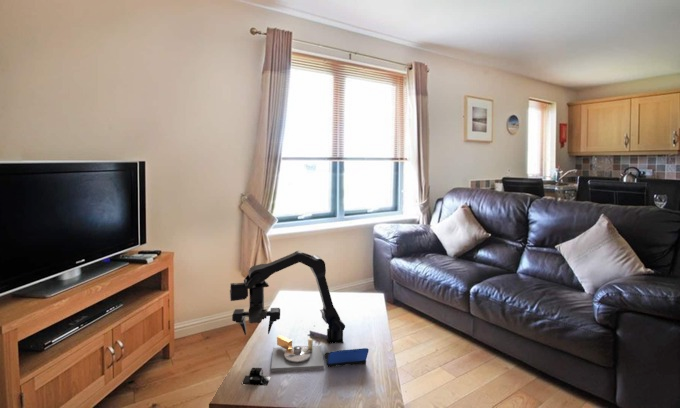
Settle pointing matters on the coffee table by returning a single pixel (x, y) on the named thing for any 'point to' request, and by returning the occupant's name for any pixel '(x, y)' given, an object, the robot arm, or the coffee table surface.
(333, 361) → the handheld game console
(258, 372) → the black angular piece
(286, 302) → the coffee table surface
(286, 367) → the base plate
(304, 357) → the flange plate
